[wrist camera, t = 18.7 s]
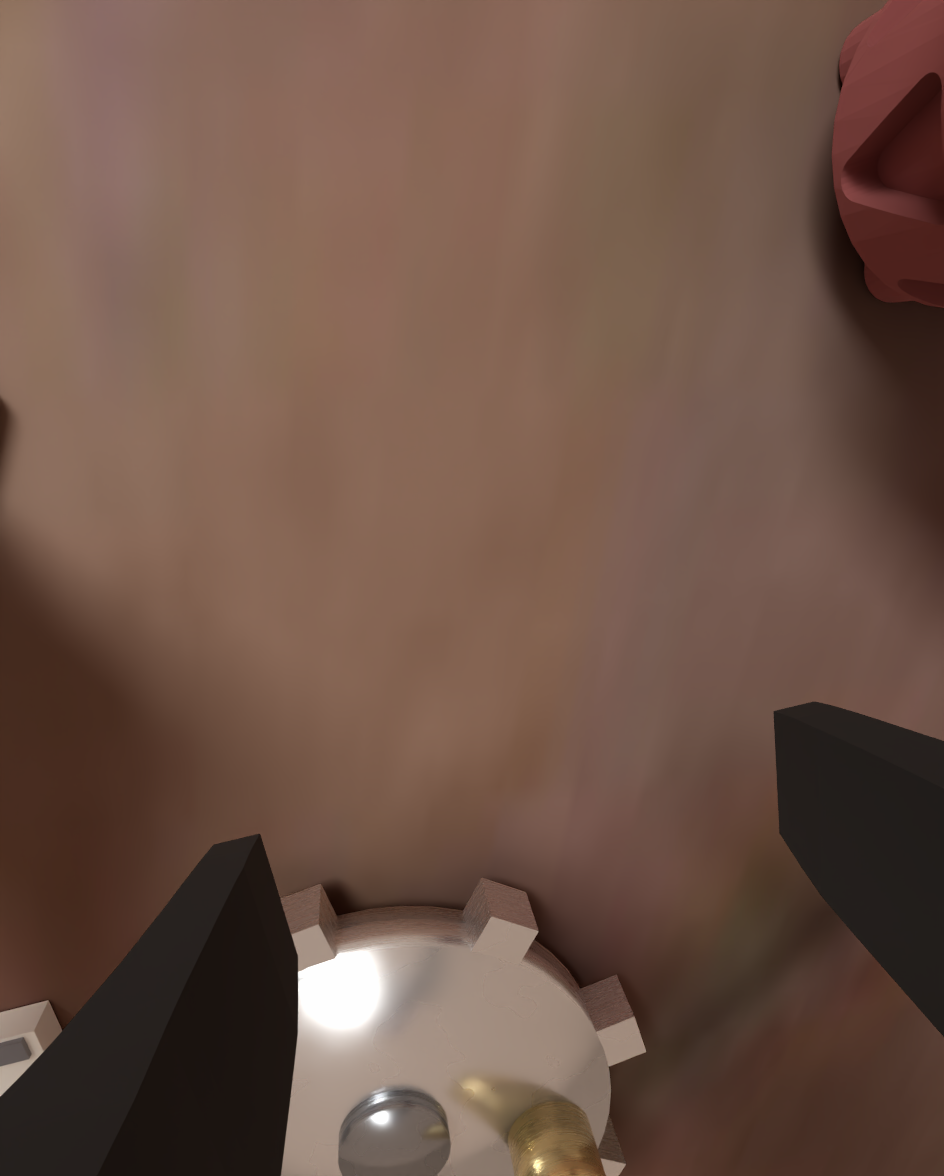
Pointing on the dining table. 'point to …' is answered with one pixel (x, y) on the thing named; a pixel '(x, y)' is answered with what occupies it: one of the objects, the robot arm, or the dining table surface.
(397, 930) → the sprocket wheel
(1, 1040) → the guide plate
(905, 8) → the mechanical component
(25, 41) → the dining table surface
